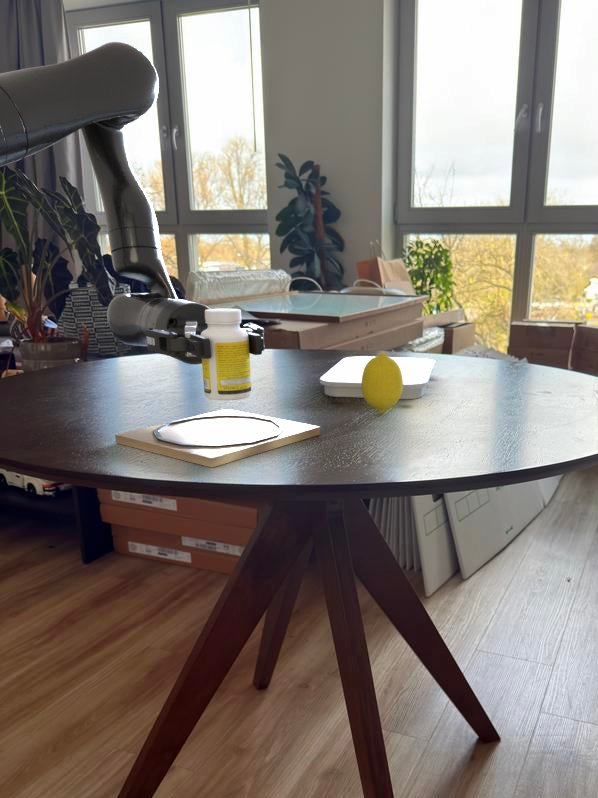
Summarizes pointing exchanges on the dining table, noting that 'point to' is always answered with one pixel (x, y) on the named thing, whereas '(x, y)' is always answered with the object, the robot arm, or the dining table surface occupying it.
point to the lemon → (382, 382)
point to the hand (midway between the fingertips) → (233, 347)
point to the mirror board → (217, 436)
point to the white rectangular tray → (350, 369)
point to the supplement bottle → (226, 356)
